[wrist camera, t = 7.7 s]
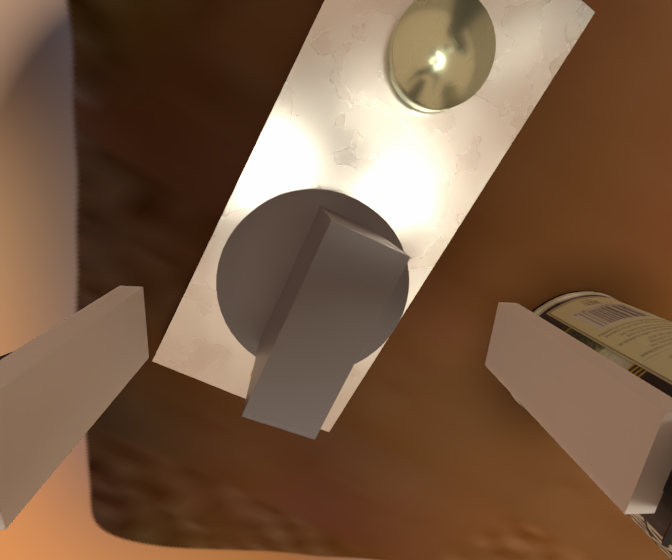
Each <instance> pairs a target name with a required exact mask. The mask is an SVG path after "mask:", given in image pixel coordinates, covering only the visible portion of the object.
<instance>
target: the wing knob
mask: <svg viewBox="0 0 672 560" xmlns="http://www.w3.org/2000/svg"><path fill="white" fill-rule="evenodd" d="M409 259H410V256H409V255H407V254H406V253H404V250H403V247H402V245H401V243H400V241H399V239H398V237H397V235H396V234H395V232H394V231H393V229H392V228H391V227H390V225H389V224H388V223H387V222H386V221H385V220H384V219H383V218H382V217H381V216H380V215H379V214H378V213H377V212H376V211H374V210H373V209H372V208H370V207H369V206H368V205H366V204H364V203H362V202H361V201H359V200H357V199H355V198H352V197H350V196H347V195H345V194H342V193H340V192H336V191H332V190H327V189H318V188H310V189H299V190H292V191H289V192H286V193H282V194H279V195H277V196H275V197H273V198H271V199H269V200H267V201H266V202H264V203H262V204H261V205H259V206H258V207H257V208H255V209H254V210H253V211H252V212H250V213H249V214H248V215H247V216H246V217H244V218H243V220H242V221H241V222H240V223H239V224H238V225H237V226H236V227H235V229H234V230H233V232H232V233H231V235H230V236H229V238H228V240H227V242H226V244H225V246H224V248H223V250H222V253H221V256H220V259H219V262H218V268H217V274H216V290H217V299H218V303H219V307H220V311H221V313H222V316H223V318H224V320H225V323H226V324H227V326H228V328H229V329H230V331H231V333H232V334H233V335H234V337H235V338H236V339H237V341H238V342H239V343H240V344H241V345H242V346H243V347H244V348H245V349H246V350H247V351H249V352H250V353H251V354H252V355H254V356H255V357H256V358H255V363H254V367H253V371H252V375H251V379H250V383H249V388H248V392H247V396H246V400H245V404H244V408H243V413H242V417H245V418H248V419H251V420H254V421H258V422H261V423H264V424H267V425H270V426H273V427H277V428H280V429H283V430H286V431H289V432H292V433H295V434H299V435H302V436H305V437H308V438H311V439H314V440H315V438H316V436H317V435H318V433H319V431H320V429H321V427H322V425H323V423H324V421H325V419H326V417H327V415H328V414H329V412H330V410H331V408H332V406H333V404H334V402H335V400H336V398H337V396H338V394H339V393H340V391H341V389H342V387H343V385H344V383H345V381H346V379H347V377H348V375H349V373H350V372H351V370H352V368H353V366H354V364H356V363H358V362H360V361H362V360H363V359H365V358H367V357H368V356H370V355H371V354H372V353H373V352H375V351H376V350H377V349H378V348H379V347H380V346H381V345H382V344H383V343H385V341H386V340H387V339H388V338H389V336H390V335H391V334H392V333H393V331H394V329H395V328H396V326H397V325H398V323H399V321H400V319H401V316H402V314H403V312H404V309H405V306H406V302H407V297H408V291H409V271H408V264H407V263H408V261H409Z"/></svg>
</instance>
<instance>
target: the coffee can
mask: <svg viewBox="0 0 672 560" xmlns="http://www.w3.org/2000/svg"><path fill="white" fill-rule="evenodd" d="M533 313H534V314H536V315H538V316H539V317H541V318H543V319H544V320H546V321H547V322H549V323H551V324H552V325H554V326H556V327H557V328H559V329H561V330H562V331H564V332H565V333H567V334H569V335H570V336H572V337H574V338H575V339H577V340H579V341H580V342H582V343H583V344H585V345H587V346H588V347H590V348H592V349H593V350H595V351H596V352H598V353H600V354H601V355H603V356H605V357H606V358H608V359H610V360H611V361H613V362H614V363H616V364H618V365H619V366H621V367H623V368H624V369H626V370H628V371H629V372H631V373H632V374H634V375H636V376H637V377H639V378H641V379H642V380H644V381H646V382H647V383H649V384H650V385H652V386H654V387H655V388H657V389H659V390H660V391H662V392H663V393H665V394H667V395H668V396H670V397H672V322H671V321H669V320H666V319H664V318H662V317H659V316H657V315H654V314H651V313H649V312H646V311H644V310H641V309H639V308H636V307H633V306H631V305H628V304H626V303H623V302H621V301H618V300H616V299H614V298H613V297H611V296H608V295H606V294H603V293H599V292H594V291H582V292H573V293H569V294H565V295H562V296H559V297H557V298H554V299H552V300H550V301H548V302H547V303H545V304H543V305H542V306H540V307H538V308H537V309H536V310H535V311H534V312H533ZM510 394H511V393H510ZM511 395H512V394H511ZM512 397H513V398H514V399H515V400H516V401H517V402H518V403H519V404H520V405H521V406H522V407H524V406H523V405H522V404H521V403H520V402H519V401H518V400H517V399H516V398H515V397H514V396H513V395H512ZM538 423H539V422H538ZM628 515H629V516H630V517H631V518H632V519H633V520H634V521H635V523H636V524H638V525H639V526H640V527H641V528H642V529H643V530H644V531H645V532H646V534H647V535H649V536H650V537H651V538H652V540H653V541H654V542H655V543H656V544H657V545H658V546H659V547H660V548H661V549H662V550H663V551H664V552H665V553H666V554H667V555H668V556H669V557H670V558H671V559H672V541H671V543H670V545H669V547H668V548H667V547H664V546H662V539H663V536H664V534H665V532H666V530H667V528H668V525H669V523H670V521H671V519H672V498H671V497H669V496H668V495H667V494H666V493H665V492H663V494H662V497H661V499H660V501H659V504H658V506H657V508H656V511H655V513H650V514H628Z"/></svg>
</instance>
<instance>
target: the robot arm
mask: <svg viewBox="0 0 672 560" xmlns="http://www.w3.org/2000/svg"><path fill="white" fill-rule="evenodd" d="M148 358H149V353H148V341H147V329H146V317H145V305H144V293H143V287H137V286H119V287H117V288H115V289H114V290H112V291H111V292H109V293H107V294H106V295H104V296H102V297H101V298H99V299H98V300H96V301H94V302H93V303H91V304H90V305H88V306H86V307H85V308H83V309H82V310H80V311H78V312H77V313H75V314H73V315H72V316H70V317H69V318H67V319H65V320H64V321H62V322H61V323H59V324H57V325H56V326H54V327H52V328H51V329H49V330H48V331H46V332H44V333H43V334H41V335H40V336H38V337H36V338H35V339H33V340H32V341H30V342H29V343H27V344H25V345H24V346H22V347H20V348H19V349H17V350H15V351H13V352H11V353H8V354H6V355H3V356H0V530H6V529H7V527H8V526H9V525H10V523H11V522H12V521H13V520H14V519H15V518H16V516H17V515H18V514H19V513H20V512H21V510H22V509H23V508H24V507H25V506H26V504H27V503H28V502H29V501H30V499H31V498H32V497H33V496H34V495H35V494H36V492H37V491H38V490H39V488H41V486H42V485H43V484H44V483H45V482H46V480H47V479H48V478H49V477H50V476H51V474H52V473H53V472H54V471H55V470H56V468H57V467H58V466H59V465H60V464H61V462H62V461H63V460H64V459H65V458H66V456H67V455H68V454H69V453H70V452H71V450H72V449H73V448H74V447H75V446H76V444H77V443H78V442H79V441H80V440H81V438H82V437H83V436H84V435H85V434H86V432H87V431H88V430H89V429H90V428H91V426H92V425H93V424H94V423H95V422H96V420H97V419H98V418H99V417H100V416H101V414H102V413H103V412H104V411H105V410H106V408H107V407H108V406H109V405H110V404H111V402H112V401H113V400H114V399H115V398H116V396H117V395H118V394H119V393H120V392H121V390H122V389H123V388H124V387H125V386H126V384H127V383H128V382H129V381H130V380H131V378H132V377H133V376H134V375H135V374H136V372H137V371H138V370H139V369H140V368H141V366H142V365H143V364H144V363H145V362H146V360H147V359H148ZM485 366H486V367H487V368H488V369H489V370H490V371H491V372H492V373H493V375H494V376H495V377H496V378H497V379H498V380H499V381H500V382H501V383H502V384H503V385H504V386H505V387H506V388H507V389H508V391H509V392H510V393H511V394H512V395H513V396H514V397H515V398H516V399H517V400H518V401H519V402H520V403H521V404H522V405H523V406H524V408H525V409H526V410H527V411H528V412H529V413H530V414H531V415H532V416H533V417H534V418H535V419H536V420H537V421H538V422H539V424H540V425H541V426H542V427H543V428H544V429H545V430H546V431H547V432H548V433H549V434H550V435H551V436H552V437H553V438H554V439H555V441H556V442H557V443H558V444H559V445H560V446H561V447H562V448H563V449H564V450H565V451H566V452H567V453H568V454H569V455H570V457H571V458H572V459H573V460H574V461H575V462H576V463H577V464H578V465H579V466H580V467H581V468H582V469H583V470H584V471H585V472H586V474H587V475H588V476H589V477H590V478H591V479H592V480H593V481H594V482H595V483H596V484H597V485H598V486H599V487H600V488H601V490H602V491H603V492H604V493H605V494H606V495H607V496H608V497H609V498H610V499H611V500H612V501H613V502H614V503H615V504H616V505H617V507H618V508H619V509H620V510H621V511H622V512H623V513H624V514H650V513H655V511H656V508H657V506H658V504H659V501H660V499H661V497H662V494H663V492H665V493H666V494H667V495H668V496H669V497H671V498H672V397H670V396H668V395H667V394H665V393H663V392H662V391H660V390H659V389H657V388H655V387H654V386H652V385H650V384H649V383H647V382H646V381H644V380H642V379H641V378H639V377H637V376H636V375H634V374H632V373H631V372H629V371H628V370H626V369H624V368H623V367H621V366H619V365H618V364H616V363H614V362H613V361H611V360H610V359H608V358H606V357H605V356H603V355H601V354H600V353H598V352H596V351H595V350H593V349H592V348H590V347H588V346H587V345H585V344H583V343H582V342H580V341H579V340H577V339H575V338H574V337H572V336H570V335H569V334H567V333H565V332H564V331H562V330H561V329H559V328H557V327H556V326H554V325H552V324H551V323H549V322H547V321H546V320H544V319H543V318H541V317H539V316H538V315H536V314H534V313H533V312H531V311H530V310H528V309H526V308H525V307H523V306H521V305H520V304H518V303H507V302H499V303H498V307H497V312H496V316H495V321H494V325H493V330H492V334H491V339H490V344H489V348H488V353H487V357H486V362H485ZM671 541H672V519H671V521H670V523H669V525H668V528H667V530H666V532H665V534H664V536H663V539H662V546H664V547H667V548H668V547H669V545H670V543H671Z"/></svg>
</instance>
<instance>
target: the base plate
mask: <svg viewBox="0 0 672 560" xmlns="http://www.w3.org/2000/svg"><path fill="white" fill-rule="evenodd" d="M594 13H595V12H594V11H593V10H592V9H591V8H590V7H588V6H587V5H586V4H585V3H584V2H583V1H582V0H324V2H323V4H322V7H321V9H320V11H319V13H318V15H317V17H316V19H315V21H314V23H313V25H312V27H311V30H310V32H309V34H308V36H307V38H306V40H305V42H304V44H303V46H302V48H301V51H300V53H299V55H298V57H297V59H296V61H295V63H294V65H293V67H292V69H291V72H290V74H289V76H288V78H287V80H286V82H285V84H284V86H283V88H282V90H281V92H280V95H279V97H278V99H277V101H276V103H275V105H274V107H273V109H272V111H271V113H270V116H269V118H268V120H267V122H266V124H265V126H264V128H263V130H262V132H261V134H260V137H259V139H258V141H257V143H256V145H255V147H254V149H253V151H252V153H251V155H250V157H249V160H248V162H247V164H246V166H245V168H244V170H243V172H242V174H241V176H240V178H239V181H238V183H237V185H236V187H235V189H234V191H233V193H232V195H231V197H230V199H229V202H228V204H227V206H226V208H225V210H224V212H223V214H222V216H221V218H220V220H219V222H218V225H217V227H216V229H215V231H214V233H213V235H212V237H211V239H210V241H209V243H208V246H207V248H206V250H205V252H204V254H203V256H202V258H201V260H200V262H199V264H198V267H197V269H196V271H195V273H194V275H193V277H192V279H191V281H190V283H189V285H188V287H187V290H186V292H185V294H184V296H183V298H182V300H181V302H180V304H179V306H178V308H177V311H176V313H175V315H174V317H173V319H172V321H171V323H170V325H169V327H168V329H167V332H166V334H165V336H164V338H163V340H162V342H161V344H160V346H159V348H158V350H157V352H156V355H155V357H154V359H153V362H155V363H158V364H160V365H163V366H165V367H168V368H170V369H173V370H175V371H178V372H180V373H183V374H185V375H188V376H190V377H193V378H195V379H198V380H200V381H203V382H205V383H208V384H210V385H213V386H215V387H218V388H220V389H223V390H225V391H228V392H230V393H233V394H235V395H238V396H240V397H243V398H245V399H246V396H247V392H248V388H249V383H250V379H251V375H252V371H253V367H254V363H255V358H256V357H255V356H254V355H252V354H251V353H250V352H249V351H247V350H246V349H245V348H244V347H243V346H242V345H241V344H240V343H239V342H238V341H237V339H236V338H235V337H234V335H233V334H232V333H231V331H230V329H229V328H228V326H227V324H226V323H225V320H224V318H223V316H222V313H221V311H220V307H219V303H218V299H217V290H216V274H217V268H218V262H219V259H220V256H221V253H222V250H223V248H224V246H225V244H226V242H227V240H228V238H229V236H230V235H231V233H232V232H233V230H234V229H235V227H236V226H237V225H238V224H239V223H240V222H241V221H242V220H243V218H244V217H246V216H247V215H248V214H249V213H250V212H252V211H253V210H254V209H255V208H257V207H258V206H259V205H261V204H262V203H264V202H266V201H267V200H269V199H271V198H273V197H275V196H277V195H279V194H282V193H286V192H289V191H292V190H299V189H310V188H318V189H327V190H332V191H336V192H340V193H342V194H345V195H347V196H350V197H352V198H355V199H357V200H359V201H361V202H362V203H364V204H366V205H368V206H369V207H370V208H372V209H373V210H374V211H376V212H377V213H378V214H379V215H380V216H381V217H382V218H383V219H384V220H385V221H386V222H387V223H388V224H389V225H390V227H391V228H392V229H393V231H394V232H395V234H396V235H397V237H398V239H399V241H400V243H401V245H402V247H403V250H404V253H406V254H407V255H409V256H410V259H409V261H408V263H407V264H408V271H409V291H408V297H407V302H406V306H405V309H404V312H403V314H404V313H405V311H406V310H407V308H408V306H409V305H410V303H411V302H412V300H413V299H414V297H415V295H416V294H417V292H418V291H419V289H420V287H421V286H422V284H423V283H424V281H425V280H426V278H427V276H428V275H429V273H430V272H431V270H432V269H433V267H434V265H435V264H436V262H437V261H438V259H439V257H440V256H441V254H442V253H443V251H444V250H445V248H446V246H447V245H448V243H449V242H450V240H451V239H452V237H453V235H454V234H455V232H456V231H457V229H458V227H459V226H460V224H461V223H462V221H463V220H464V218H465V216H466V215H467V213H468V212H469V210H470V209H471V207H472V205H473V204H474V202H475V201H476V199H477V197H478V196H479V194H480V193H481V191H482V190H483V188H484V186H485V185H486V183H487V182H488V180H489V179H490V177H491V175H492V174H493V172H494V171H495V169H496V168H497V166H498V164H499V163H500V161H501V160H502V158H503V156H504V155H505V153H506V152H507V150H508V149H509V147H510V145H511V144H512V142H513V141H514V139H515V138H516V136H517V134H518V133H519V131H520V130H521V128H522V126H523V125H524V123H525V122H526V120H527V119H528V117H529V115H530V114H531V112H532V111H533V109H534V108H535V106H536V104H537V103H538V101H539V100H540V98H541V96H542V95H543V93H544V92H545V90H546V89H547V87H548V85H549V84H550V82H551V81H552V79H553V78H554V76H555V74H556V73H557V71H558V70H559V68H560V66H561V65H562V63H563V62H564V60H565V59H566V57H567V55H568V54H569V52H570V51H571V49H572V48H573V46H574V44H575V43H576V41H577V40H578V38H579V36H580V35H581V33H582V32H583V30H584V29H585V27H586V25H587V24H588V22H589V21H590V19H591V18H592V16H593V14H594ZM403 314H402V316H403ZM402 316H401V317H402ZM387 340H388V339H387ZM387 340H386V341H387ZM386 341H385V343H386ZM385 343H383V344H382V345H381V346H380V347H379V348H378V349H377V350H376V351H375V352H373V353H372V354H371V355H370V356H368V357H367V358H365V359H363V360H362V361H360V362H358V363H356V364H354V366H353V368H352V370H351V372H350V373H349V375H348V377H347V379H346V381H345V383H344V385H343V387H342V389H341V391H340V393H339V394H338V396H337V398H336V400H335V402H334V404H333V406H332V408H331V410H330V412H329V414H328V415H327V417H326V419H325V421H324V423H323V425H322V427H321V429H322V430H325V431H327V432H329V431H330V430H331V428H332V426H333V425H334V423H335V422H336V420H337V419H338V417H339V415H340V414H341V412H342V411H343V409H344V407H345V406H346V404H347V403H348V401H349V400H350V398H351V396H352V395H353V393H354V392H355V390H356V389H357V387H358V385H359V384H360V382H361V381H362V379H363V377H364V376H365V374H366V373H367V371H368V370H369V368H370V366H371V365H372V363H373V362H374V360H375V359H376V357H377V355H378V354H379V352H380V351H381V349H382V347H383V346H384V344H385Z"/></svg>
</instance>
